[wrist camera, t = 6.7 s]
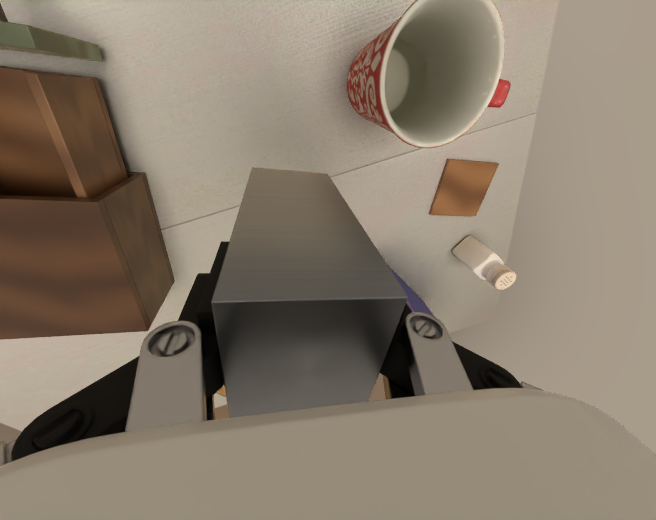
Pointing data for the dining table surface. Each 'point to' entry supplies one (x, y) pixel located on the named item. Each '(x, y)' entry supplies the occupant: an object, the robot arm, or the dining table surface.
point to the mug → (432, 71)
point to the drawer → (54, 122)
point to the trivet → (462, 187)
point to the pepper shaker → (484, 263)
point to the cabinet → (82, 263)
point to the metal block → (301, 299)
